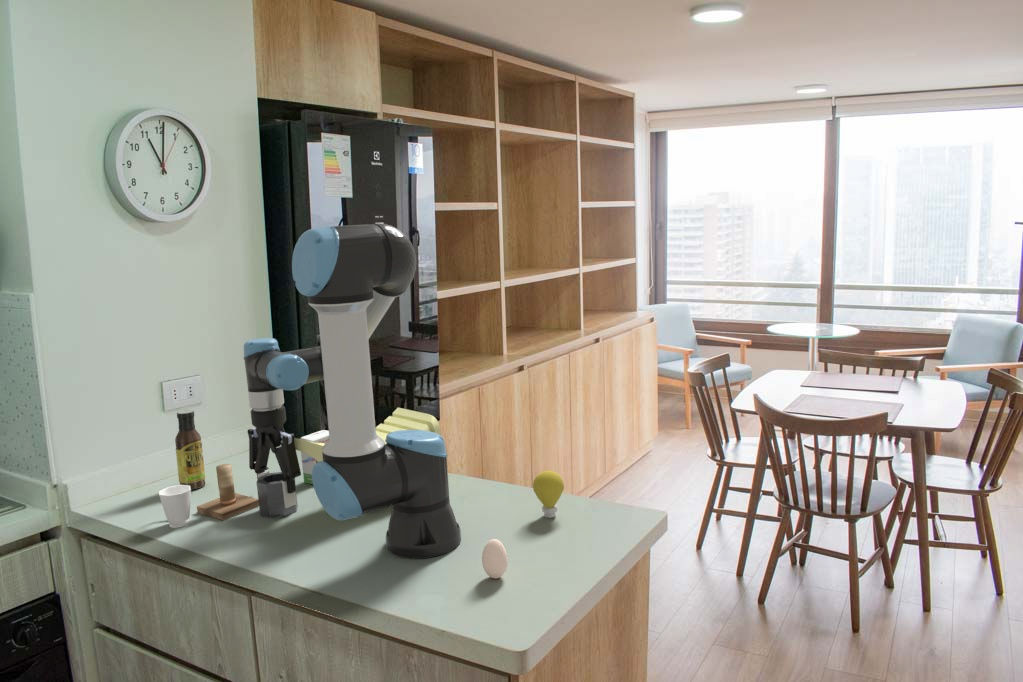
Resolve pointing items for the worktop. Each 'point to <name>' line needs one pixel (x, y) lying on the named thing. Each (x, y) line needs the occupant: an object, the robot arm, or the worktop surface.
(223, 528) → the worktop surface
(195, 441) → the sauce bottle
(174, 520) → the cup
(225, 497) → the post
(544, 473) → the light bulb
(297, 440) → the slatted curved stool
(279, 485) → the grey hollow octagonal piece
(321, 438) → the ink box
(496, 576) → the egg
